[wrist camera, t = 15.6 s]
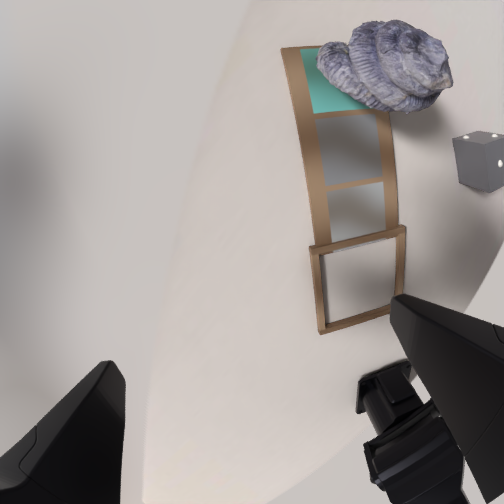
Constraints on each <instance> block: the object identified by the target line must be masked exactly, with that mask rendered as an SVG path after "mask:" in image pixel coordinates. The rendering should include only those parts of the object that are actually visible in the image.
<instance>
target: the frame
mask: <svg viewBox="0 0 504 504" xmlns="http://www.w3.org/2000/svg"><path fill="white" fill-rule="evenodd" d="M394 235H398V236H397V237H396V275H395V294H394V296H396V295H399V294H402V293H403V279H404V259H405V226H403V225H401V224H400V225H398V227H395V228H391V229H387V230H383V231H379V232H375V233H371V234H366V235H362V236H358V237H354V238H350V239H346V240H341V241H337V242H333V243H329V244H324V245H320V246H316V245H313V246H309V252H310V259H311V268H312V276H313V285H314V294H315V303H316V313H317V324H318V332H319V334H320V335H323V334H326V333H330V332H333V331H337V330H340V329H343V328H347V327H350V326H353V325H356V324H359V323H363V322H366V321H369V320H372V319H375V318H378V317H381V316H384V315H386V314H389V313H390V306H391V304H390V305H387V306H384V307H381V308H378V309H375V310H372V311H369V312H365V313H362V314H359V315H356V316H353V317H349V318H346V319H343V320H339V321H336V322H333V323H329V324H326V325H325V316H324V304H323V292H322V282H321V272H320V262H319V254H322V253H326V252H330V251H334V250H338V249H342V248H346V247H350V246H354V245H358V244H362V243H366V242H370V241H374V240H378V239H382V238H386V237H390V236H394Z"/></svg>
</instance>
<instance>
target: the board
mask: <svg viewBox="0 0 504 504" xmlns="http://www.w3.org/2000/svg"><path fill="white" fill-rule="evenodd" d="M347 46H348V45H347ZM320 47H322V46H303V47H289V48H281V49H280V50H281V54H282V58H283V62H284V66H285V71H286V75H287V80H288V84H289V89H290V94H291V99H292V103H293V108H294V113H295V119H296V124H297V129H298V134H299V140H300V145H301V151H302V157H303V163H304V169H305V175H306V181H307V188H308V194H309V201H310V208H311V215H312V223H313V230H314V238H315V245H316V246H320V245H324V244H329V243H333V242H337V241H341V240H346V239H350V238H354V237H358V236H362V235H366V234H371V233H375V232H379V231H383V230H387V229H391V228H395V227H398V206H397V186H396V172H395V161H394V151H393V142H392V134H391V126H390V119H389V113H388V111H386V112H383V111H380V110H377V109H374V108H370V107H369V106H366V105H364V104H362V103H361V102H358V101H357V100H354V98H353V97H351V96H350V95H348V94H347V93H345V92H342V91H341V90H340V89H338V88H336V87H335V86H334V85H332V84H330V83H329V80H327V79H326V77H325V76H323V73H322V72H321V71H320V70H319V69H318V68H317V66H316V65H317V63H318V62H317V61H316V59H315V58H316V56H317V55H318V51H319V49H320ZM397 236H398V235H394V236H390V237H386V238H382V239H378V240H374V241H370V242H366V243H362V244H358V245H354V246H350V247H346V248H342V249H338V250H334V251H330V252H326V253H322V254H319V256H321V255H325V254H329V253H334V252H338V251H342V250H346V249H350V248H354V247H358V246H362V245H366V244H370V243H374V242H377V241H381V240H385V239H389V238H393V237H397Z"/></svg>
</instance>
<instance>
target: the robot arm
mask: <svg viewBox="0 0 504 504" xmlns="http://www.w3.org/2000/svg"><path fill="white" fill-rule="evenodd" d="M390 323H391V325H392V327H393V329H394V331H395V333H396V335H397V337H398V339H399V341H400V343H401V345H402V347H403V349H404V351H405V354H406V356H407V357H408V359H409V361H406V362H404V363H401V364H399V365H397V366H394V367H392V368H389V369H386V370H384V371H381V372H379V373H376V374H373V375H371V376H368V377H365V378H362V379H360V380H359V381H358V389H357V401H356V413H357V414H361V413H364V412H367V414H368V416H369V418H370V420H371V422H372V424H373V426H374V428H375V431H376V433H377V435H378V436H377V437H376V438H374V439H372V440H371V441H369V442H368V441H367V442H366V443H364V444H363V446H364V449H365V450H364V453H365V457H366V461H367V464H368V468H369V472H370V480H371V482H372V483H374V484H376V485H377V486H378V487H379V488H380V489H381V490H382V491H386V493H387V495H388V497H389V500H390V502H391V503H392V504H470V502H469V500H468V498H467V497H466V495H465V493H464V491H463V489H462V485H463V476H464V466H465V465H464V464H465V460H466V462H467V464H468V466H469V468H470V470H471V472H472V474H473V476H474V478H475V480H476V483H477V484H478V487H479V489H480V491H481V493H482V495H483V498H484V500H485V502H486V504H488V503H490V502H491V501H493V500H494V499H496V498H497V497H498V496H500V495H501V494H502V493H504V327H501V326H498V325H495V324H493V325H492V324H491V323H489V322H486V321H483V320H480V319H478V318H475V317H472V316H469V315H466V314H463V313H460V312H457V311H454V310H451V309H448V308H446V307H443V306H440V305H437V304H434V303H431V302H428V301H425V300H422V299H419V298H416V297H413V296H410V295H407V294H404V293H402V294H399V295H396V296H393V297H392V299H391V306H390ZM411 366H413V368H414V369H415V371H416V373H417V374H418V376H419V378H420V379H421V381H422V383H423V384H424V386H425V387H426V389H427V391H428V392H429V394H430V396H431V398H430V400H429V401H428V402H427V403H425V404H423V402H422V401H421V399H420V398H419V396H418V395H417V393H416V391H415V389H414V388H413V386H412V385H411V383H410V382H409V380H408V379H409V375H410V370H411ZM125 388H126V384H125V379H124V377H123V375H122V374H121V372H120V371H119V369H118V367H117V366H116V364H115V363H114V362H113V361H111V360H108V361H102V362H100V363H99V364H98V365H97V366H96V367H95V368H94V369H93V370H92V371H91V372H89V373H88V375H86V376H85V377H84V378H83V379H82V380H81V381H80V382H79V383H78V384H77V385H76V386H75V387H74V388H73V389H72V390H71V391H70V392H69V393H68V394H67V395H66V396H65V397H64V398H63V399H61V401H59V403H57V404H56V405H55V407H53V408H52V409H51V410H50V412H48V413H47V414H46V415H45V416H44V417H43V418H42V419H41V420H40V421H39V422H38V423H37V425H35V426H34V427H33V428H32V429H31V430H30V431H29V432H28V433H27V434H26V435H25V436H24V437H23V438H22V439H21V440H20V441H19V442H17V443H16V444H15V445H14V446H13V447H12V448H11V449H9V450H8V451H7V452H6V453H5V454H4V455H3V456H1V457H0V504H120V489H121V468H122V453H123V441H124V429H125V391H126V389H125ZM438 416H440V417H438ZM458 446H459V447H458ZM459 448H460V449H459ZM464 457H465V458H464Z"/></svg>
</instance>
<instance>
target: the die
mask: <svg viewBox="0 0 504 504" xmlns="http://www.w3.org/2000/svg"><path fill="white" fill-rule="evenodd" d="M452 141H453V146H454V151H455V157H456V163H457V170H458V177H459V183H462V184H465V185H468V186H471V187H474V188H476V189H479V190H482V191H485V192H487V193H491V192H493V191H495V190H497V189H499V188H500V187H502V186H504V135H501V134H495V133H489V132H482V131H476V132H473V133H469V134H466V135H463V136H460V137H457V138H453V139H452Z"/></svg>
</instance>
